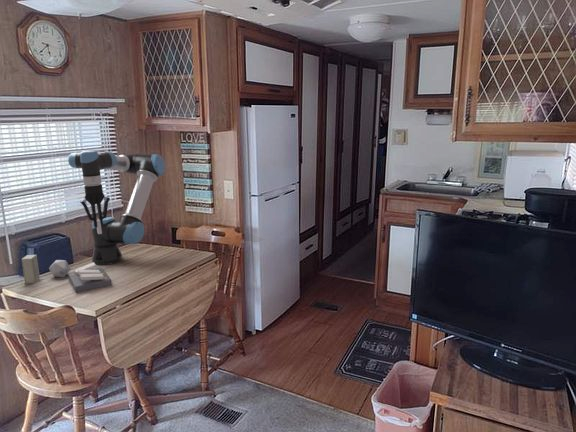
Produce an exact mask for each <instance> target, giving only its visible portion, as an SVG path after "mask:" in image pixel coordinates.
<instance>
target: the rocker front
mask: <svg viewBox="0 0 576 432" xmlns="http://www.w3.org/2000/svg"><path fill="white" fill-rule="evenodd" d="M80 278H81V280H99V279H104V276H103V275H102V274H80Z"/></svg>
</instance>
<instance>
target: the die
mask: <svg viewBox="0 0 576 432" xmlns="http://www.w3.org/2000/svg"><path fill="white" fill-rule="evenodd" d="M48 269H49V271H50V273H51V274H52V275H53V277H54V278H65V277H66V275H68V273H70V271H71V270H72V268H71V267H70V265H69V263H68V262H67V260H63V259H56V260H54V262H53V263H52V264H51V265H50V266H49V267H48Z"/></svg>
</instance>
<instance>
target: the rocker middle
mask: <svg viewBox="0 0 576 432" xmlns="http://www.w3.org/2000/svg"><path fill="white" fill-rule="evenodd" d="M100 273H101V272H100V271H99V270H78V274H79V275H80V274H100Z"/></svg>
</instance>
